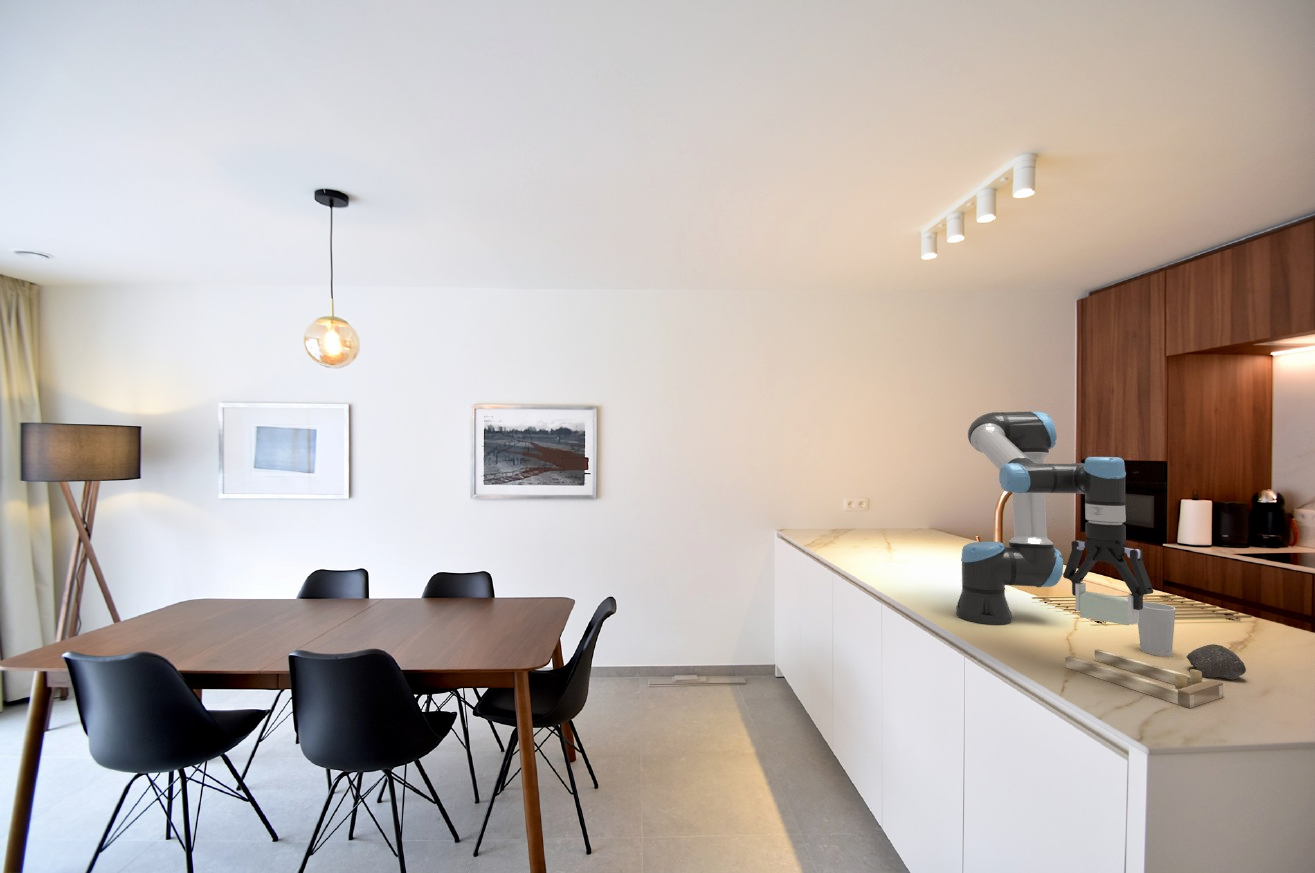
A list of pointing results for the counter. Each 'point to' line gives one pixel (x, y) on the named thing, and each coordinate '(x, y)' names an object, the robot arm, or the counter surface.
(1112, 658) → the wooden u-shaped frame
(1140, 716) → the counter surface
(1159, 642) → the cup
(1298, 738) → the counter surface
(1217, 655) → the stone
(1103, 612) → the block
